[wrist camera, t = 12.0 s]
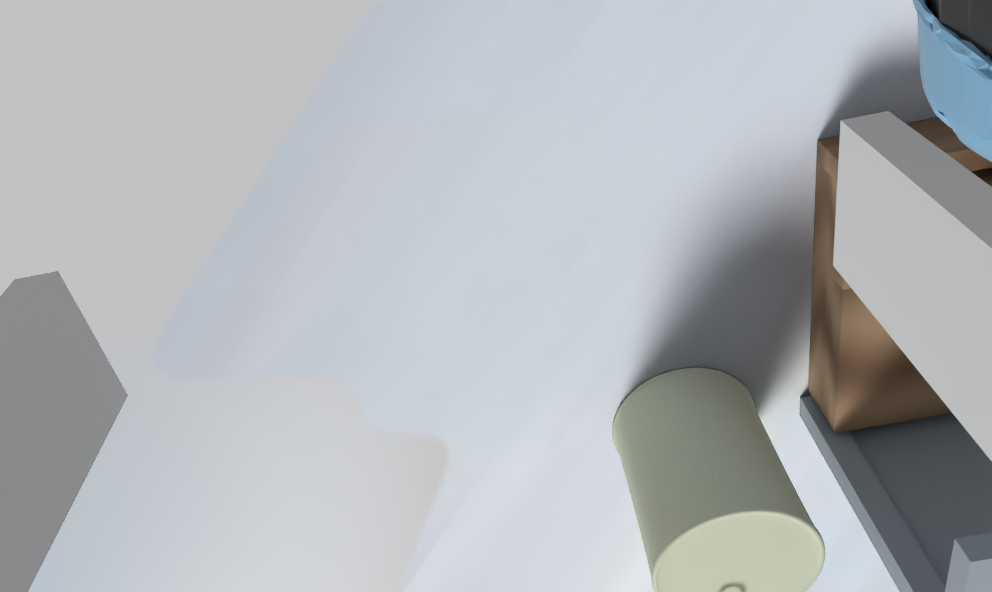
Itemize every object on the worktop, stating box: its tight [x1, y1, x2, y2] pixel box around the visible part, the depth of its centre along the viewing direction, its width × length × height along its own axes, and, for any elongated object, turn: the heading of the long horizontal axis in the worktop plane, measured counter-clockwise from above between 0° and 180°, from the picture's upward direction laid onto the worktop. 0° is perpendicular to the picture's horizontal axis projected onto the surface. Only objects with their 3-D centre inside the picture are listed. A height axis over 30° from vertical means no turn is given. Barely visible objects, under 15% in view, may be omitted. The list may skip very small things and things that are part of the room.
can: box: [612, 367, 825, 592], centre depth 47 cm, size 9×9×12 cm
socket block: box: [808, 117, 992, 433], centre depth 44 cm, size 17×14×4 cm
